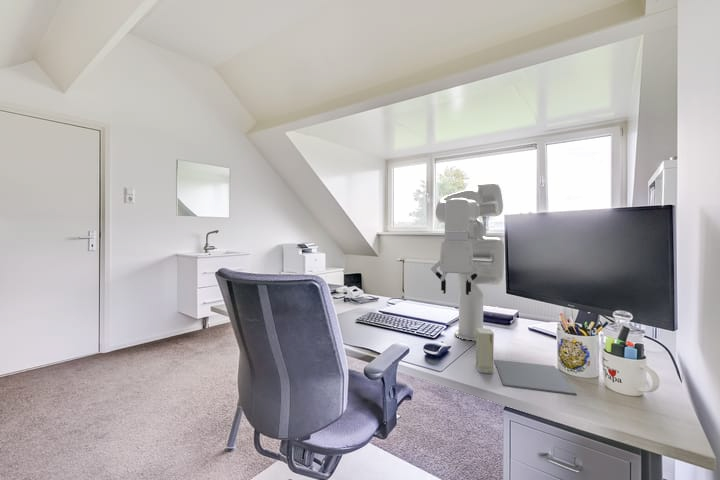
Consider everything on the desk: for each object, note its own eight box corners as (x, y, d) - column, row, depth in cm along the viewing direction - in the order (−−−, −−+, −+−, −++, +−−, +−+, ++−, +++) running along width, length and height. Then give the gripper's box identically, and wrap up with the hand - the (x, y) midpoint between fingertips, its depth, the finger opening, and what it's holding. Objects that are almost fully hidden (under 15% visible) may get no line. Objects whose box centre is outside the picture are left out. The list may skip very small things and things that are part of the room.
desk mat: (494, 360, 107) (494, 359, 107) (554, 367, 102) (554, 365, 102) (503, 385, 90) (503, 384, 90) (576, 394, 85) (576, 393, 85)
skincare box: (493, 374, 97) (494, 334, 97) (478, 372, 98) (479, 333, 97) (489, 365, 103) (490, 328, 103) (475, 364, 104) (476, 327, 104)
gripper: (484, 237, 103) (483, 292, 104) (429, 237, 108) (428, 289, 108) (487, 238, 96) (485, 297, 96) (428, 237, 100) (427, 294, 101)
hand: (455, 292), depth 102 cm, fingers open, 6 cm apart
